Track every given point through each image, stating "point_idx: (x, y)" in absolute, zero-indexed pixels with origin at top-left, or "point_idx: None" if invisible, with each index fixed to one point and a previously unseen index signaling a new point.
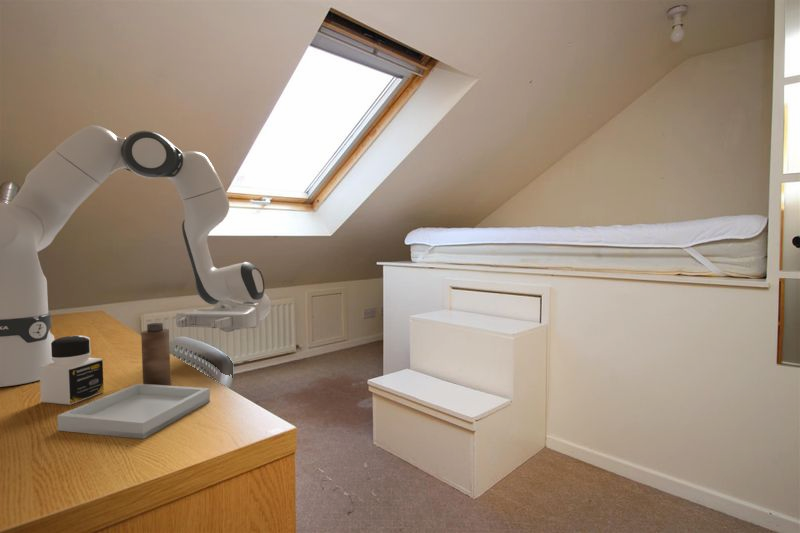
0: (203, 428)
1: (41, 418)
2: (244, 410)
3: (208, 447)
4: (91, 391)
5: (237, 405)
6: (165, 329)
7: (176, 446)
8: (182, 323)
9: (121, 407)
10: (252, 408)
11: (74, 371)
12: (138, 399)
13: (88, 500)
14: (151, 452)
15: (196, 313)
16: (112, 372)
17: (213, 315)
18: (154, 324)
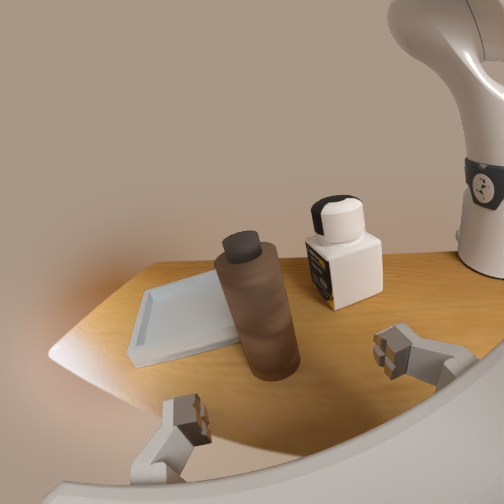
0: (111, 329)
1: (293, 270)
2: (86, 365)
3: (95, 317)
4: (323, 292)
5: (97, 372)
6: (237, 267)
7: (118, 309)
8: (380, 348)
9: (224, 304)
10: (79, 371)
11: (307, 247)
12: (229, 320)
13: (134, 276)
14: (131, 300)
15: (441, 396)
16: (466, 332)
17: (283, 463)
18: (236, 237)
